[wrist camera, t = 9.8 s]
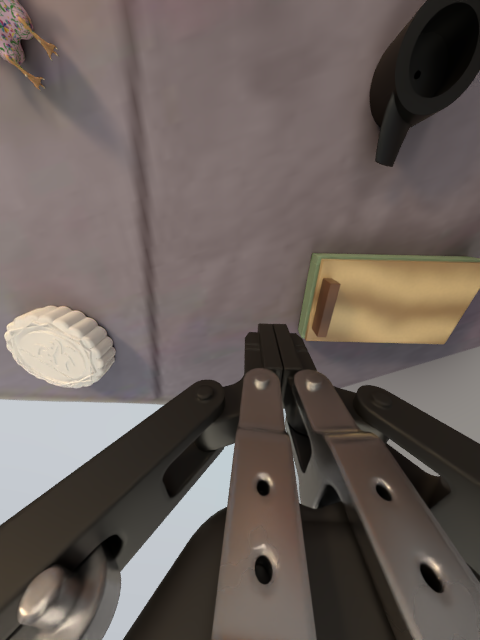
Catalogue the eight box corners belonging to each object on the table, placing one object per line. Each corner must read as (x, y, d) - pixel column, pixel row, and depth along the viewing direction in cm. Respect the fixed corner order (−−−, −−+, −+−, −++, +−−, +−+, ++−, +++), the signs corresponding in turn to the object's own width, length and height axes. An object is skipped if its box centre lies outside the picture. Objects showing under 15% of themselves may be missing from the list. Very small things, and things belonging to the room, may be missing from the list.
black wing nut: (326, 99, 15) (343, 74, 13) (461, -63, 12) (520, -140, 9) (373, 179, 18) (394, 173, 15) (495, 64, 14) (550, 30, 12)
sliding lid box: (312, 253, 21) (318, 256, 19) (467, 256, 21) (487, 259, 19) (297, 330, 26) (301, 338, 24) (424, 333, 26) (438, 341, 24)
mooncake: (133, 346, 27) (118, 363, 24) (91, 384, 31) (74, 403, 28) (50, 286, 23) (20, 296, 20) (14, 338, 27) (-16, 354, 24)
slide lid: (321, 258, 19) (331, 263, 17) (488, 262, 19) (522, 267, 17) (304, 338, 24) (311, 350, 21) (439, 341, 23) (461, 354, 21)
